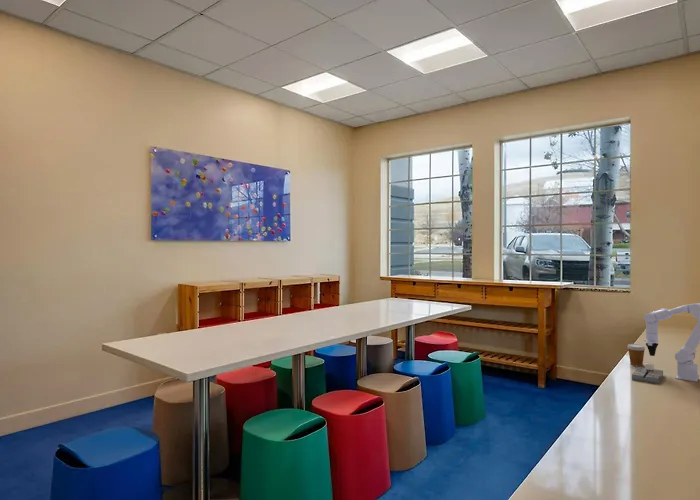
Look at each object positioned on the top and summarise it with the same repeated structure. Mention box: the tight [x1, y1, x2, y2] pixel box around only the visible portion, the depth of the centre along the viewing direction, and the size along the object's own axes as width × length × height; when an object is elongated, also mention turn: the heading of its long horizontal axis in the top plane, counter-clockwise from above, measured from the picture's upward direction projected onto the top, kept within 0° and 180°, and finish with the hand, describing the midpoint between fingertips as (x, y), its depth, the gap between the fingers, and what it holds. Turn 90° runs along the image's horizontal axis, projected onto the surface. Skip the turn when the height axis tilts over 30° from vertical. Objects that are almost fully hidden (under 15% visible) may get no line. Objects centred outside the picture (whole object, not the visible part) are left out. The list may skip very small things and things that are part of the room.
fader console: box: [631, 366, 664, 385], centre depth 244 cm, size 12×19×3 cm, turn 137°
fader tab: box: [644, 362, 655, 372], centre depth 249 cm, size 4×3×5 cm
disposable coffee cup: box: [627, 343, 646, 367], centre depth 271 cm, size 10×10×12 cm
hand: (652, 355), depth 256 cm, fingers closed
